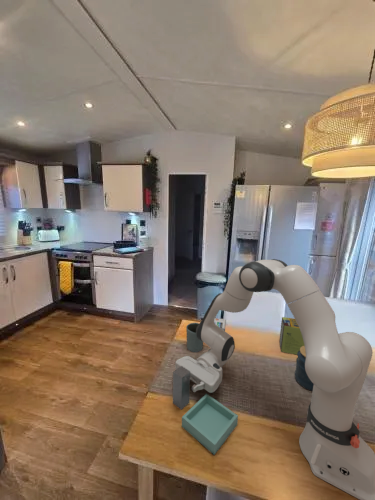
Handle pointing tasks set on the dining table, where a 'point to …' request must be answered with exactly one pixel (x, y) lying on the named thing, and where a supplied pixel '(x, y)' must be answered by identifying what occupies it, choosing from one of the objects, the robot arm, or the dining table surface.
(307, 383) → the canister
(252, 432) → the dining table surface
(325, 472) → the robot arm
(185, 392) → the brushed steel pillar
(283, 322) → the protein box
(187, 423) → the tray
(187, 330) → the dark green embossed cup
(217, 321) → the light bulb box
